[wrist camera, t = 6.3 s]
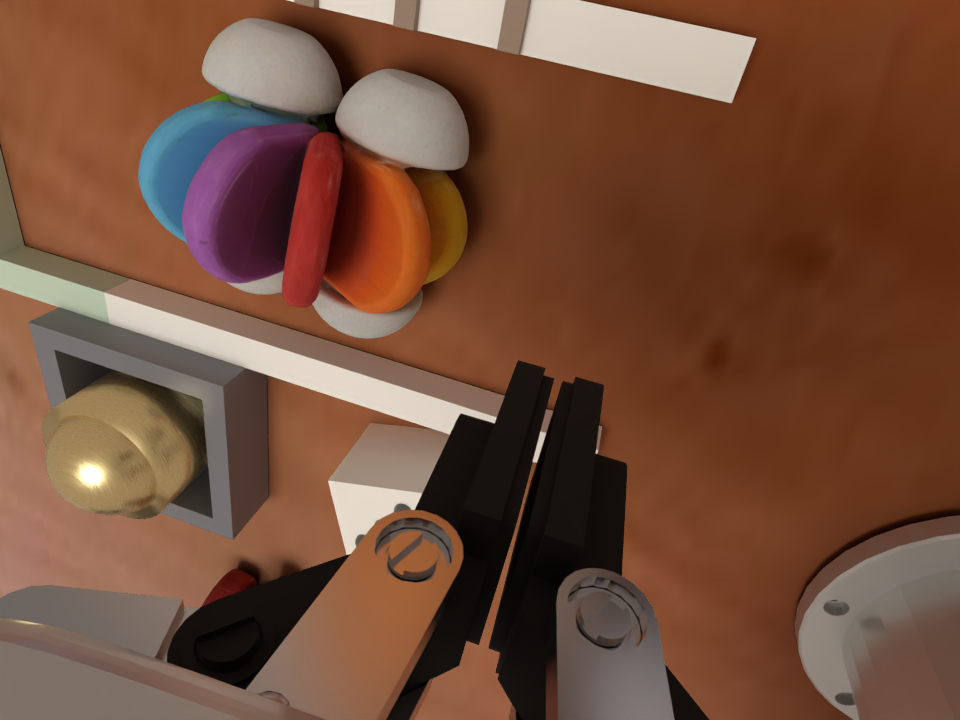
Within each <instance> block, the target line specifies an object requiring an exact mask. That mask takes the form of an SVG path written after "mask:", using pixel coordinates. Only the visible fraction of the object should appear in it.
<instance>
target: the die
mask: <svg viewBox="0 0 960 720" xmlns="http://www.w3.org/2000/svg"><path fill="white" fill-rule="evenodd" d="M449 435H450V434H447V433H444V432H441V431H438V430H434V429H426V428H416V427H406V426H396V425H387V424H377V423H370V424H369V426H368V427H367V428H366V430H365V431H364V432H363V434H362V435H361V436H360V438H359V439H358V441H357V442H356V443H355V445H354V446H353V447H352V449H351V450H350V451H349V453H348V454H347V455H346V457H345V458H344V459H343V461H342V462H341V464H340V465H339V466H338V468H337V469H336V470H335V472H334V473H333V474H332V476H331V477H330V478H329V480H328V483H329V486H330V490H331V494H332V498H333V502H334V506H335V510H336V514H337V518H338V522H339V526H340V530H341V534H342V538H343V542H344V546H345V550H346V554H347V555H349V554H351V553H352V552H353V550H354V549H355V548H356V547H357V545H358V544H359V543H360V541H361V540H362V539H363V537H364V536H365V535H366V534H367V532H368V531H369V530H370V528H371V527H372V526H373V525H374V524H376V523H377V522H378V521H379V520H380V519H381V518H383V517H385V516H387V515H389V514H391V513H393V512H398V511H403V510H415V508H416V506H417V504H418V502H419V499H420V497H421V495H422V493H423V491H424V489H425V487H426V485H427V482H428V480H429V478H430V476H431V474H432V472H433V470H434V467H435V465H436V463H437V461H438V459H439V457H440V455H441V452H442V450H443V448H444V446H445V444H446V442H447V440H448V437H449Z"/></svg>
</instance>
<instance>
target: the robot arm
mask: <svg viewBox="0 0 960 720" xmlns="http://www.w3.org/2000/svg"><path fill="white" fill-rule="evenodd" d="M544 371H545V368H543V367H540V366H536V365H533V364H529V363H526V362H522V361H519V360H518V362H517V365H516V367H515V370H514V373H513V375H512V378H511V381H510V383H509V386H508V389H507V391H506V394H505V397H504V399H503V402H502V405H501V408H500V410H499V413H498V416H497V418H496V421H495V423H492V422H488V421H485V420H482V419H478V418H475V417H472V416H468V415H465V414H462V413H461V414H460V415H459V417H458V418H457V420H456V423H455V425H454V427H453V429H452V431H451V433H450V435H449V437H448V440H447V442H446V444H445V446H444V448H443V450H442V452H441V455H440V457H439V459H438V461H437V463H436V465H435V467H434V470H433V472H432V474H431V476H430V478H429V480H428V482H427V485H426V487H425V489H424V491H423V493H422V495H421V497H420V499H419V502H418V504H417V506H416V508H415V510H403V511H398V512H393V513H391V514H389V515H387V516H385V517H383V518H381V519H380V520H379V521H378V522H377V523H376V524H374V525H373V526H372V527H371V528H370V530H369V531H368V532H367V534H366V535H365V536H364V537H363V539H362V540H361V541H360V543H359V544H358V545H357V547H356V548H355V549H354V550H353V552H352V553H351V554H349V555H346V556H343V557H340V558H337V559H334V560H331V561H328V562H325V563H322V564H320V565H317V566H314V567H311V568H308V569H305V570H302V571H299V572H296V573H293V574H290V575H287V576H284V577H281V578H278V579H275V580H273V581H270V582H267V583H264V584H261V585H258V586H255V587H252V588H249V589H246V590H243V591H240V592H237V593H234V594H231V595H228V596H226V597H223V598H220V599H217V600H215V601H213V602H211V603H209V604H207V605H204V606H202V607H200V608H194V607H185V606H184V604H183V599H176V598H166V597H157V596H148V595H138V594H129V593H119V592H110V591H101V590H91V589H82V588H72V587H63V586H54V585H45V586H30V587H27V588H24V589H20V590H17V591H14V592H11V593H8V594H7V595H5V596H3V597H2V598H0V720H414V719H415V717H416V715H417V713H418V711H419V709H420V707H421V705H422V703H423V701H424V699H425V697H426V695H427V693H428V691H429V689H430V686H431V683H432V680H433V678H434V677H437V676H439V675H441V674H443V673H445V672H447V671H449V670H451V669H453V668H455V667H457V666H459V664H460V660H461V657H462V653H463V650H464V647H465V643H466V641H469V642H472V643H474V644H477V645H479V642H480V639H481V636H482V633H483V630H484V626H485V623H486V620H487V617H488V614H489V610H490V607H491V604H492V601H493V598H494V594H495V591H496V588H497V585H498V582H499V579H500V575H501V572H502V569H503V566H504V563H505V559H506V556H507V553H508V550H509V547H510V543H511V540H512V537H513V533H514V530H515V527H516V523H517V520H518V516H519V512H520V508H521V505H522V501H523V497H524V493H525V489H526V485H527V481H528V478H529V474H530V470H531V466H532V462H533V458H534V454H535V451H536V447H537V443H538V439H539V435H540V431H541V427H542V423H543V420H544V416H545V412H546V408H547V404H548V400H549V396H550V393H551V389H552V385H553V381H554V378H551V377H547V376H544V375H543V374H544ZM603 390H604V385H602V384H599V383H595V382H592V381H588V380H585V379H581V378H578V377H576V378H575V380H574V383H573V384H571V383H568V382H564V381H563V382H562V385H561V388H560V391H559V394H558V397H557V401H556V404H555V407H554V410H553V413H552V416H551V420H550V423H549V426H548V429H547V432H546V436H545V439H544V442H543V445H542V448H541V451H540V455H539V458H538V461H537V464H536V467H535V471H534V474H533V477H532V480H531V483H530V487H529V490H528V494H527V498H526V501H525V505H524V509H523V513H522V517H521V521H520V525H519V529H518V533H517V537H516V541H515V545H514V549H513V553H512V557H511V561H510V565H509V569H508V573H507V577H506V581H505V585H504V589H503V593H502V597H501V601H500V605H499V608H498V612H497V616H496V620H495V624H494V628H493V632H492V636H491V640H490V644H489V649H492V650H495V651H498V652H500V656H499V660H498V664H497V669H496V673H498V674H499V676H498V680H499V682H500V684H501V685H502V687H503V689H504V691H505V692H506V694H507V696H508V698H509V699H510V701H511V703H512V705H511V710H510V715H509V720H709V719H708V718H707V716H706V715H705V714H704V713H703V711H702V710H701V709H700V708H699V706H698V705H697V704H696V703H695V701H694V700H693V699H692V698H691V696H690V695H689V694H688V693H687V691H686V690H685V689H684V688H683V686H682V685H681V684H680V682H679V681H678V680H677V679H676V677H675V676H674V675H673V674H672V672H671V671H670V670H669V669H668V667H667V666H666V665H665V662H664V656H663V650H662V644H661V638H660V633H659V627H658V621H657V618H656V615H655V612H654V609H653V607H652V605H651V604H650V602H649V601H648V599H647V598H646V596H645V595H644V593H643V592H642V591H641V590H640V589H639V588H637V587H636V586H635V585H634V584H633V583H632V582H631V581H629V580H628V579H626V578H624V577H623V576H622V560H623V541H624V521H625V502H626V482H627V465H626V463H624V462H621V461H618V460H614V459H611V458H608V457H604V456H601V455H598V454H596V447H597V439H598V431H599V423H600V414H601V406H602V398H603ZM794 627H795V633H796V639H797V646H798V651H799V655H800V658H801V661H802V664H803V667H804V671H805V673H806V674H807V676H808V677H809V679H810V680H811V682H812V683H813V685H814V686H815V688H816V689H817V690H818V691H819V693H820V694H821V695H822V696H823V697H824V698H825V699H826V700H827V701H828V702H829V703H830V704H832V705H833V706H834V707H836V708H837V709H838V710H840V711H841V712H843V713H844V714H846V715H847V716H849V717H850V718H851V719H853V720H960V516H948V517H943V518H938V519H933V520H928V521H923V522H919V523H914V524H909V525H906V526H903V527H900V528H897V529H894V530H891V531H888V532H886V533H883V534H880V535H877V536H874V537H872V538H870V539H868V540H866V541H864V542H862V543H860V544H858V545H857V546H855V547H853V548H851V549H849V550H847V551H845V552H844V553H842V554H841V555H840V556H838V557H837V558H836V559H835V560H833V561H832V562H831V563H829V564H828V565H827V566H825V567H824V568H823V569H822V570H821V571H820V572H819V573H818V575H817V576H816V577H815V578H814V579H813V580H812V582H811V583H810V584H809V585H808V586H807V588H806V590H805V592H804V594H803V596H802V598H801V600H800V602H799V604H798V606H797V612H796V619H795V625H794Z"/></svg>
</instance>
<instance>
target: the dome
mask: <svg viewBox="0 0 960 720" xmlns="http://www.w3.org/2000/svg"><path fill="white" fill-rule="evenodd" d="M42 435H43V440H44V444H45V447H46V449H45V468H46V472H47V475H48V478H49V481H50V483H51V485H52V486H53V488H54V489H55V490H56V492H57V493H58V494H59V495H60V496H61V497H62V498H63V499H64V500H66V501H67V502H68V503H70V504H71V505H73V506H74V507H76V508H78V509H81V510H83V511H86V512H90V513H93V514H100V515H121V516H124V517H129V518H135V519H146V518H151V517H154V516H156V515H158V514H159V513H161V512H162V511H163V510H164V509H165V508H166V507H167V506H168V505H169V504H170V503H171V502H172V501H173V500H174V499H175V498H176V497H177V496H178V495H179V494H180V493H181V492H182V491H183V490H184V489H185V488H186V487H187V486H188V485H189V484H190V483H191V482H193V481H194V480H195V479H196V478H197V477H198V476H199V475H200V474H201V473H202V472H203V471H204V470H205V469H206V468H207V467H208V458H207V447H206V436H205V425H204V413H203V402H202V399H199V398H196V397H193V396H190V395H187V394H185V393H182V392H179V391H176V390H173V389H170V388H167V387H164V386H161V385H158V384H155V383H152V382H149V381H146V380H143V379H140V378H137V377H134V376H131V375H128V374H125V373H122V372H119V371H116V370H112V371H111V372H109V373H107V374H106V375H104V376H103V377H101V378H100V379H98V380H96V381H95V382H93V383H92V384H90V385H88V386H87V387H85V388H84V389H82V390H81V391H79V392H77V393H76V394H74V395H73V396H71V397H69V398H68V399H66V400H65V401H63V402H62V403H60V404H58V405H57V406H55V407H54V408H52V409H51V410H50V411H49V412H48V413H47V414H46V416H45V417H44V420H43V424H42Z"/></svg>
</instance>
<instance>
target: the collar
mask: <svg viewBox="0 0 960 720" xmlns="http://www.w3.org/2000/svg"><path fill="white" fill-rule="evenodd" d="M28 323H29V327H30V330H31V334H32V338H33V342H34V345H35V349H36V353H37V357H38V361H39V364H40V368H41V372H42V376H43V379H44V383H45V387H46V391H47V395H48V398H49V402H50V406H51V409H52V408H54V407H55V406H57V405H58V404H60V403H62V402H63V401H65V400H66V399H68V398H69V397H71V396H73V395H74V394H76V393H77V392H79V391H81V390H82V389H84V388H85V387H87V386H88V385H90V384H92V383H93V382H95V381H96V380H98V379H100V378H101V377H103V376H104V375H106V374H107V373H109V372H111V371H112V370H116V371H119V372H122V373H125V374H128V375H131V376H134V377H137V378H140V379H143V380H146V381H149V382H152V383H155V384H158V385H161V386H164V387H167V388H170V389H173V390H176V391H179V392H182V393H185V394H187V395H190V396H193V397H196V398H199V399H202V402H203V413H204V425H205V436H206V447H207V458H208V467H207V468H206V469H205V470H204V471H203V472H202V473H201V474H200V475H199V476H198V477H197V478H196V479H195V480H194V481H193V482H191V483H190V484H189V485H188V486H187V487H186V488H185V489H184V490H183V491H182V492H181V493H180V494H179V495H178V496H177V497H176V498H175V499H174V500H173V501H172V502H171V503H170V504H169V505H168V506H167V507H166V508H165V509H164V510H163V511H162V512H161V513H162V514H164V515H167V516H170V517H173V518H175V519H178V520H181V521H183V522H186V523H189V524H191V525H194V526H197V527H200V528H202V529H205V530H208V531H210V532H213V533H216V534H218V535H221V536H224V537H227V538H229V539H232V540H233V539H234V538H235V537H236V536H237V535H238V533H239V532H240V531H241V530H242V529H243V527H244V526H245V525H246V524H247V523H248V521H249V520H250V519H251V518H252V517H253V515H254V514H255V513H256V512H257V511H258V509H259V508H260V507H261V506H262V505H263V503H264V502H265V501H266V500H267V499H268V497H269V478H268V416H267V375H266V374H263V373H260V372H257V371H253V370H250V369H247V368H244V367H241V366H238V365H235V364H232V363H229V362H226V361H223V360H220V359H217V358H214V357H211V356H207V355H204V354H201V353H198V352H195V351H192V350H189V349H186V348H183V347H180V346H177V345H174V344H171V343H168V342H164V341H161V340H158V339H155V338H152V337H149V336H146V335H143V334H140V333H137V332H134V331H131V330H128V329H125V328H122V327H118V326H115V325H112V324H109V323H106V322H103V321H100V320H97V319H94V318H91V317H88V316H85V315H82V314H79V313H76V312H72V311H69V310H66V309H63V308H60V307H59V308H57V309H55V310H53V311H51V312H49V313H47V314H44V315H42V316H40V317H38V318H36V319H34V320H32V321H30V322H28Z"/></svg>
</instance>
